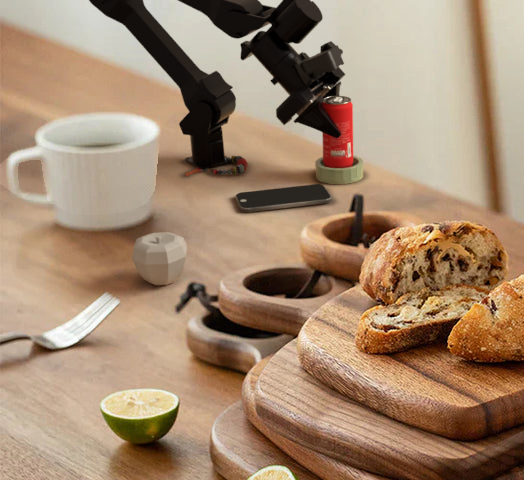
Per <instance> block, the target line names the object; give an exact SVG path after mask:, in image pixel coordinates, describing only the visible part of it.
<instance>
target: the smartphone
mask: <svg viewBox="0 0 524 480" xmlns="http://www.w3.org/2000/svg"><path fill="white" fill-rule="evenodd" d="M332 200H333V199H332V195H331V194H330V193H329V191H328V190H327V188H326V187H325V185H324V184H320V183H314V184H305V185H304V184H303V185H296V186H295V185H294V186H287V187H278V188H269V189H261V190H260V189H259V190H252V191H244V192H243V191H242V192H238V193H236V194H235V201H236V203H237V205H238V207H239V210H240V211H241V212H243V213H253V212H262V211H269V210H270V211H271V210H279V209H287V208H295V207H305V206H312V205H321V204H328V203H331V202H332Z"/></svg>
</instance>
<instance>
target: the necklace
mask: <svg viewBox="0 0 524 480" xmlns="http://www.w3.org/2000/svg"><path fill="white" fill-rule="evenodd" d="M230 160H231V162H232V163H231V164H236V166H234V167H232V168H231V169H227V170H226V169H223V170H222V169H219V170H218V169H216V168H215V169H211V168H207V169H205V168H204V169H199V168H198V167H195V168H194V169H193V170H191V171H188V172H186V173H185V174H184V177H188V176H190V175H193V174H196V173H203V172H209V173H212V174H213V175H215V176H218V175H220V176H221V175H232V176H233V177H234V176H236V175H240V174H242V173H243V172H245V171H246V170H247V169H248V165H249V163H248V161H247V159H246V158H244V157H243V156H240V155H231V157H228V158H227V161H230ZM225 161H226V159H225Z"/></svg>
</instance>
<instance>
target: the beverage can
mask: <svg viewBox="0 0 524 480" xmlns="http://www.w3.org/2000/svg"><path fill="white" fill-rule="evenodd" d="M353 107H354V104H353V102H352V98H350V97H349V96H345V95H339V96H330V97H326V98H324V99H323V108H324V109H325V111H326V112H327V113H328V115H329V116H330V118H331V119H332V120H333V122H334V123H335V125H336V126H337V127H338V129H339V130H340V132H341V136H340V137H339V138H335V137H332V136H330V135H328V134H325V133H323V132H321V133H322V135H321V136H322V157H323V163H324V165H325V167H329V168H348V167H351V166H352V164H353V156H354V115H353V114H354V110H353V109H354V108H353Z"/></svg>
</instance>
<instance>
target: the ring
mask: <svg viewBox="0 0 524 480" xmlns="http://www.w3.org/2000/svg"><path fill="white" fill-rule="evenodd" d="M314 166H315V178H316V180H317V181H319V182H321V183H325V184H329V185H347V184H353V183H356V182H359V181H360V180H362V179H363V178H364V159H362V158H361V157H360V156H357V155H353V164H352V166H351V167H348V168H329V167H325V165H324V163H323V156H321V157H318V158H317V159H316V160H315V165H314Z"/></svg>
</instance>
